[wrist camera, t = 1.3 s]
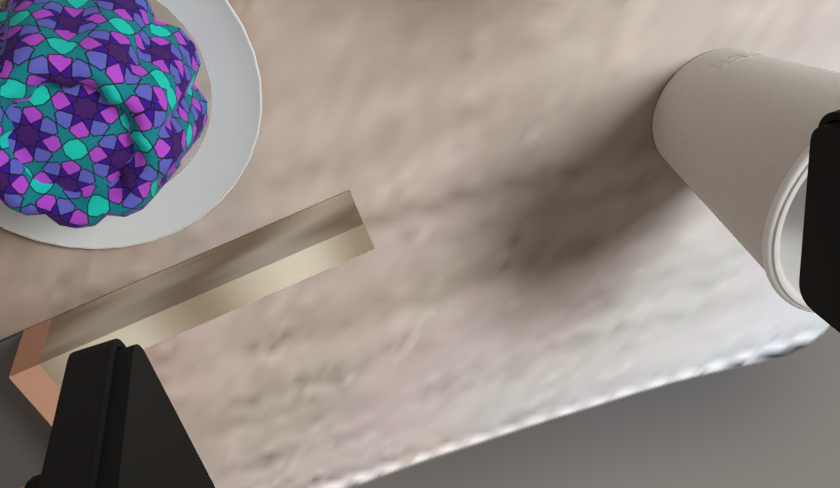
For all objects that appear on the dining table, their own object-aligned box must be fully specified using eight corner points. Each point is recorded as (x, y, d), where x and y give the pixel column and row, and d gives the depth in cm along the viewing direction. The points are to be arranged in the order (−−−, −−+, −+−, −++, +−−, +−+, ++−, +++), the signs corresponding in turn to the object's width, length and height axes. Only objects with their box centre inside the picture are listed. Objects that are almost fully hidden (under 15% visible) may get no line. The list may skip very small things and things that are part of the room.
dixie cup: (622, 39, 31) (782, 126, 23) (805, -3, 32) (1021, 64, 24) (624, 216, 35) (758, 343, 27) (784, 172, 37) (961, 281, 28)
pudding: (313, 157, 30) (334, 217, 26) (41, 288, 30) (15, 370, 26) (149, -156, 24) (140, -148, 20) (-200, 7, 24) (-290, 53, 19)
